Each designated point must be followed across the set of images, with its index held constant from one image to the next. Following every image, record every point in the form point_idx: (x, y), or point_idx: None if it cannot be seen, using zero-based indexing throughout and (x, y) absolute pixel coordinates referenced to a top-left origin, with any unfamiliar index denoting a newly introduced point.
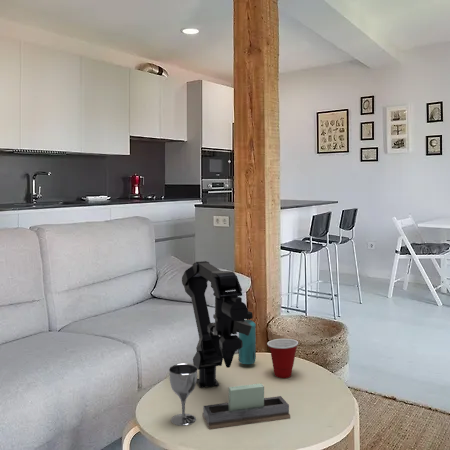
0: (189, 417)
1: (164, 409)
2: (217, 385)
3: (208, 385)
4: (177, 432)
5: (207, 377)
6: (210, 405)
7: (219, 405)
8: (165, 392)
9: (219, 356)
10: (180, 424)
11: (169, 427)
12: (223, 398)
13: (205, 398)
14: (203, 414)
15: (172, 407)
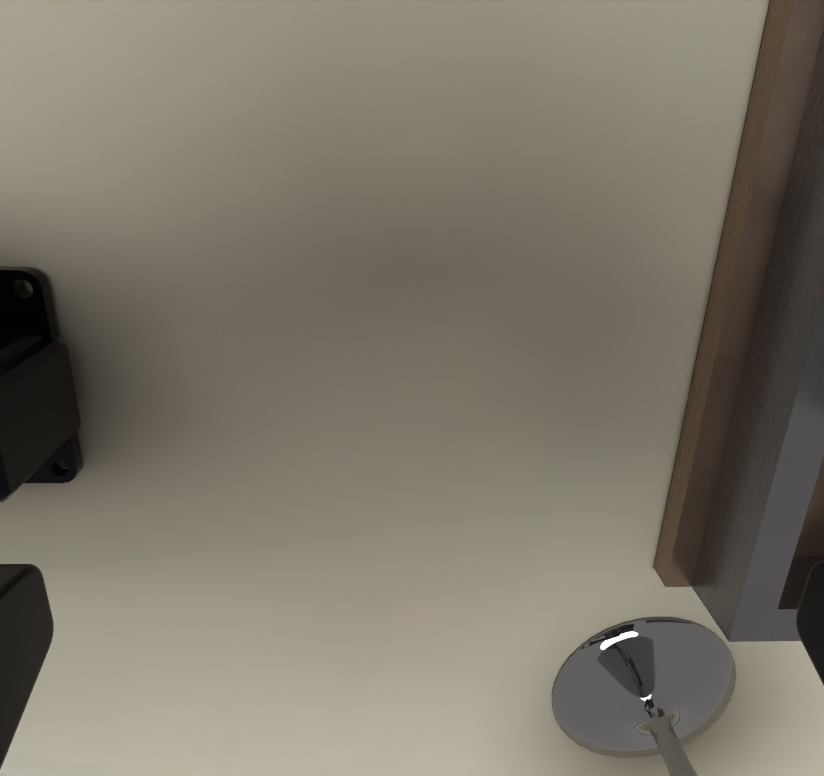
0: (667, 669)
1: (439, 771)
2: (48, 291)
3: (77, 406)
4: (790, 742)
5: (31, 465)
6: (758, 587)
7: (800, 512)
8: (137, 736)
9: (42, 625)
10: (711, 720)
11: (704, 772)
12: (383, 313)
13: (334, 476)
14: (697, 586)
15: (425, 725)
